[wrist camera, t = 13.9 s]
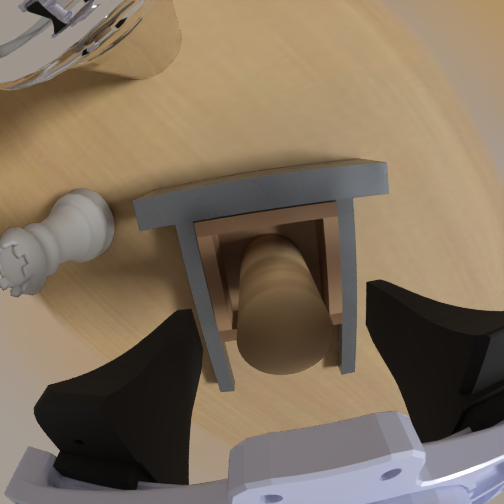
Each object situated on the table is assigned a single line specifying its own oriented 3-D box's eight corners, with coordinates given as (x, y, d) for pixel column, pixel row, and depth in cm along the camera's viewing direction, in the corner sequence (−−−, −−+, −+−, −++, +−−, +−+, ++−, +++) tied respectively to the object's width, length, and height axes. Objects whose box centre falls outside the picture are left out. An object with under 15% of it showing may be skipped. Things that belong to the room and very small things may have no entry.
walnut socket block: (331, 301, 19) (342, 323, 17) (224, 318, 19) (221, 341, 17) (323, 193, 17) (336, 201, 14) (201, 211, 17) (193, 223, 15)
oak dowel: (305, 283, 18) (336, 364, 11) (247, 294, 18) (248, 381, 11) (296, 227, 17) (329, 286, 10) (234, 240, 17) (226, 306, 10)
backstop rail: (364, 360, 21) (379, 391, 18) (207, 384, 21) (202, 418, 18) (361, 158, 16) (386, 162, 13) (154, 190, 17) (132, 200, 13)
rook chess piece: (85, 267, 18) (16, 330, 11) (50, 213, 17) (-33, 253, 9) (131, 232, 18) (63, 290, 10) (92, 173, 16) (5, 196, 9)
